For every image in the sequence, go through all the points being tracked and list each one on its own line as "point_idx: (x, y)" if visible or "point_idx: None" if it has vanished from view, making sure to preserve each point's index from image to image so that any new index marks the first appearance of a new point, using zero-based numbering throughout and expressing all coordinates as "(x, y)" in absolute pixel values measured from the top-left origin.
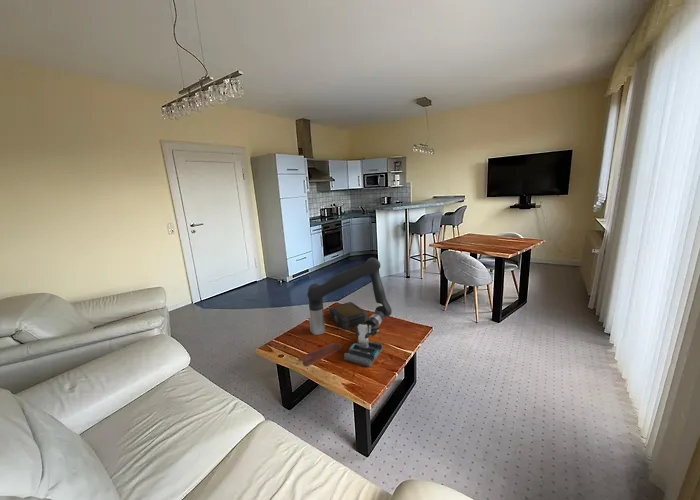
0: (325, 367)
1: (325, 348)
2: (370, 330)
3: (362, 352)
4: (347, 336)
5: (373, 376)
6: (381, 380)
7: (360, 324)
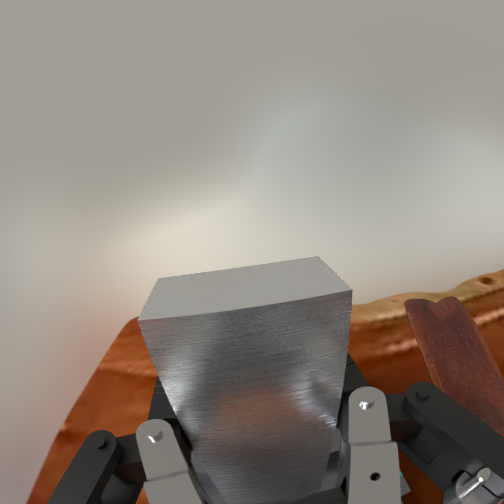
0: (358, 331)
1: (481, 369)
2: (147, 465)
3: None
4: None
5: (141, 385)
6: (108, 379)
7: (323, 290)
